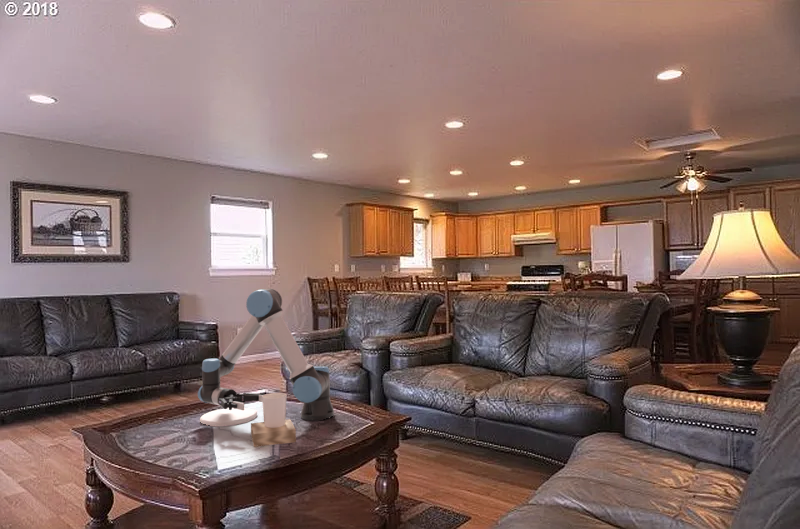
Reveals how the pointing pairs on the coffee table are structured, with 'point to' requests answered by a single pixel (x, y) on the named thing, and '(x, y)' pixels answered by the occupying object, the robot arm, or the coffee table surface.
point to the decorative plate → (228, 417)
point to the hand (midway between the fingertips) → (257, 403)
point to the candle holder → (274, 409)
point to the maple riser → (272, 434)
